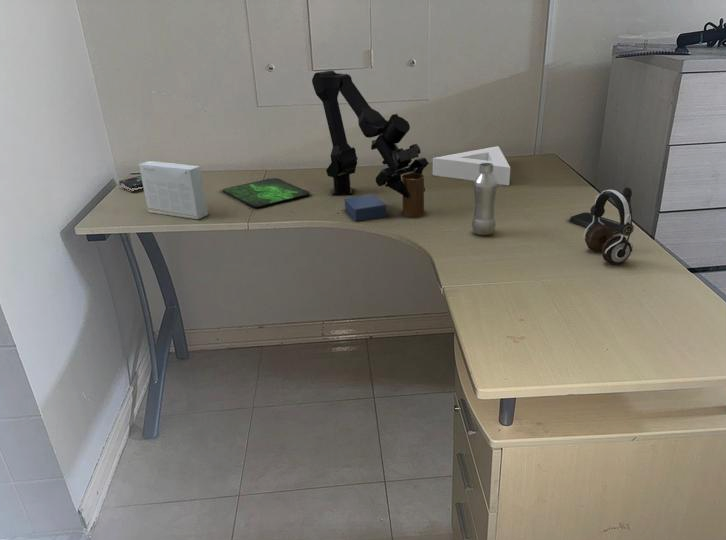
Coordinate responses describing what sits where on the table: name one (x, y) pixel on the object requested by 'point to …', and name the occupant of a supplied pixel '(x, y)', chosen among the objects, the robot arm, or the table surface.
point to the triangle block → (473, 165)
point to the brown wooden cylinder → (413, 195)
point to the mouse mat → (265, 192)
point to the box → (365, 207)
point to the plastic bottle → (484, 200)
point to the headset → (602, 235)
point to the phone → (587, 219)
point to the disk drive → (133, 183)
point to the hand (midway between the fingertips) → (416, 194)
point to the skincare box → (174, 189)
